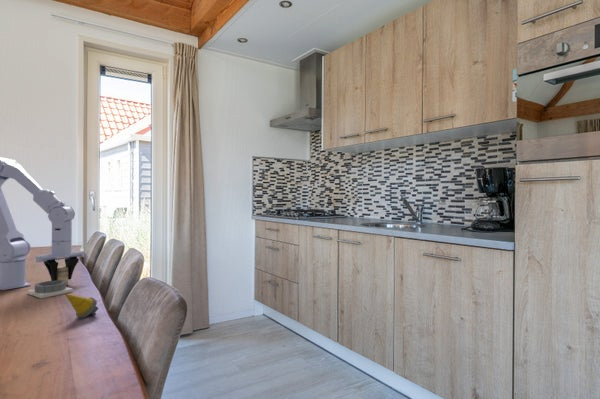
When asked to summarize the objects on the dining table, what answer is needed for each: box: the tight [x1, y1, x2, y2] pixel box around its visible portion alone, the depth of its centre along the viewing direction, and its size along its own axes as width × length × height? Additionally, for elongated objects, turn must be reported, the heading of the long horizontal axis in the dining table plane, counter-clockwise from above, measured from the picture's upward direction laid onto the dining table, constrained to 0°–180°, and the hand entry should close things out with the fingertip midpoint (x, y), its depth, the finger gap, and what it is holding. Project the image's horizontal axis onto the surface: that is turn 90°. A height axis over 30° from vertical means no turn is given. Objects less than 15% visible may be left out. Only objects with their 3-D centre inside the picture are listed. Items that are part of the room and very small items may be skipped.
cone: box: [64, 293, 99, 319], centre depth 91 cm, size 5×5×10 cm
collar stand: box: [27, 280, 74, 299], centre depth 114 cm, size 9×9×3 cm
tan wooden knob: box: [57, 266, 69, 286], centre depth 124 cm, size 4×4×6 cm
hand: (61, 280), depth 124 cm, fingers closed on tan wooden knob, 4 cm apart
